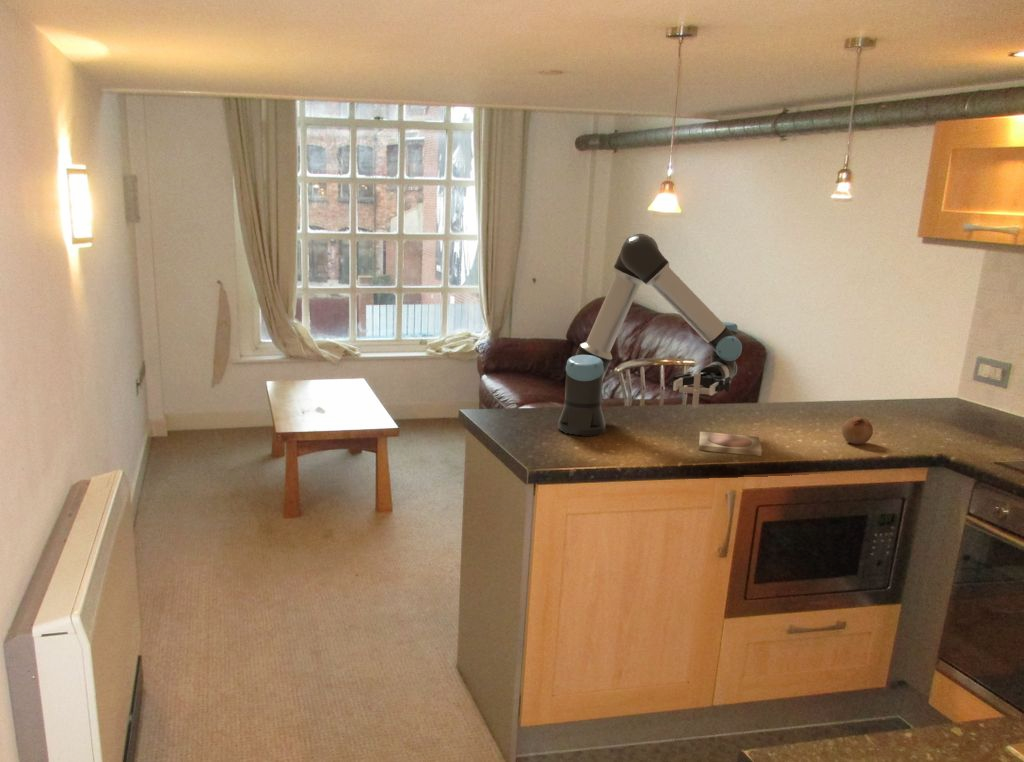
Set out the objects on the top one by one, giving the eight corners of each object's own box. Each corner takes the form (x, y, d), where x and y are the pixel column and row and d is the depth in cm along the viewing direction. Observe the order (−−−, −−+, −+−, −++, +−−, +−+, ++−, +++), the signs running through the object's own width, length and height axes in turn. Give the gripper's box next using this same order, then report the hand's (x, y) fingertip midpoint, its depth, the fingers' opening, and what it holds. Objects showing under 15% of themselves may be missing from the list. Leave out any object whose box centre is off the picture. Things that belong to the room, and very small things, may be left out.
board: (698, 449, 243) (699, 444, 243) (699, 436, 259) (700, 430, 258) (761, 456, 239) (761, 450, 239) (758, 441, 255) (759, 435, 254)
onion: (858, 455, 253) (863, 432, 248) (833, 441, 260) (838, 418, 254) (876, 441, 257) (881, 418, 251) (851, 428, 263) (856, 405, 258)
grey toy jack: (712, 412, 235) (715, 378, 233) (677, 410, 237) (679, 376, 235) (712, 404, 245) (714, 372, 243) (678, 402, 247) (680, 370, 245)
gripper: (749, 392, 251) (730, 406, 232) (678, 383, 261) (654, 396, 242) (751, 368, 249) (732, 380, 230) (679, 360, 260) (656, 371, 241)
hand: (692, 388), depth 236 cm, fingers closed on grey toy jack, 10 cm apart
